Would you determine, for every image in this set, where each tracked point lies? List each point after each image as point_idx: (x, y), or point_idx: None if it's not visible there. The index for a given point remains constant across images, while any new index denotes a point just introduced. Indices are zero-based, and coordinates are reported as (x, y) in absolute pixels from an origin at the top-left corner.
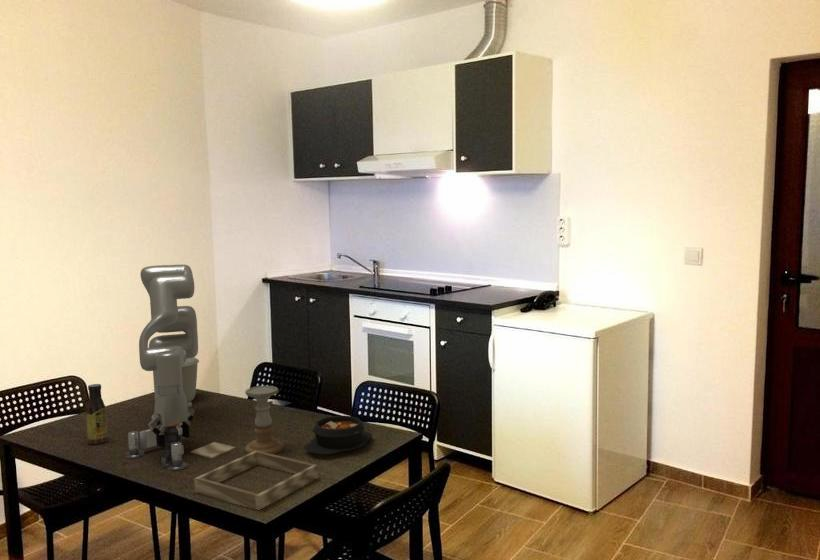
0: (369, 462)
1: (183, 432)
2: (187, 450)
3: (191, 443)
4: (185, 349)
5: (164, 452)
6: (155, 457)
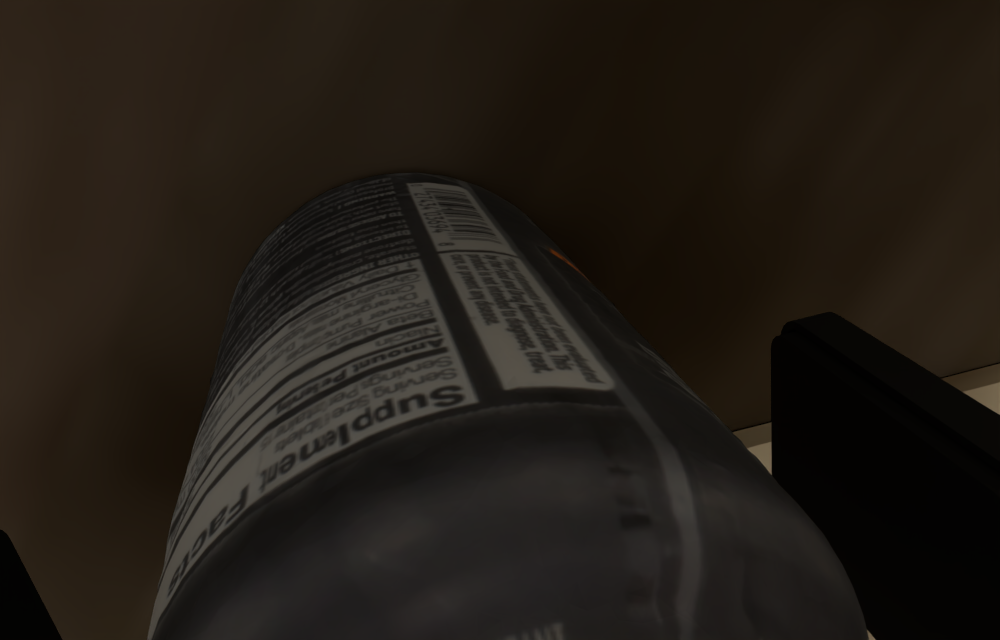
0: None
1: (846, 469)
2: (669, 307)
3: (941, 29)
4: None
5: (231, 307)
6: (60, 186)
